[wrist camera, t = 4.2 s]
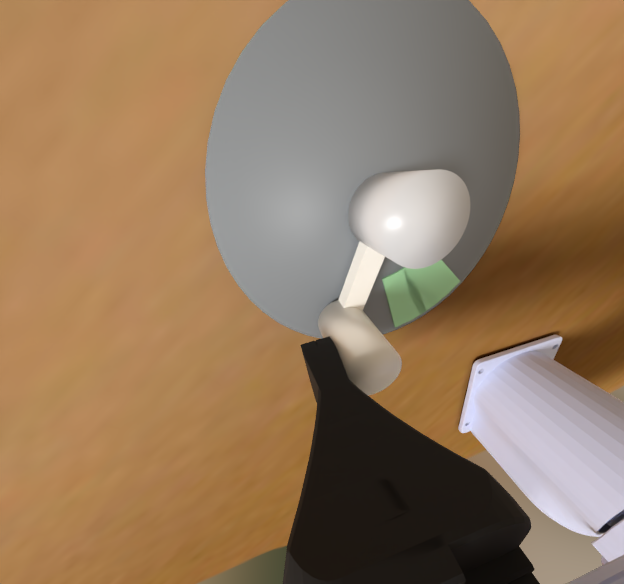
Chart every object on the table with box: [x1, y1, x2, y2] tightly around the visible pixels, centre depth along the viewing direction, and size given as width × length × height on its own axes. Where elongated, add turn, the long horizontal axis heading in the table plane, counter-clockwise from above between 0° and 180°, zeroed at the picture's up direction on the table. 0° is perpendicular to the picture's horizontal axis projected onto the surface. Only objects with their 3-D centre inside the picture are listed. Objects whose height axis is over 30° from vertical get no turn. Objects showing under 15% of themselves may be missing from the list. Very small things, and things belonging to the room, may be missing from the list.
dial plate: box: [205, 0, 520, 339], centre depth 10 cm, size 14×14×1 cm
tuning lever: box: [318, 169, 470, 395], centre depth 9 cm, size 8×3×4 cm, turn 164°
